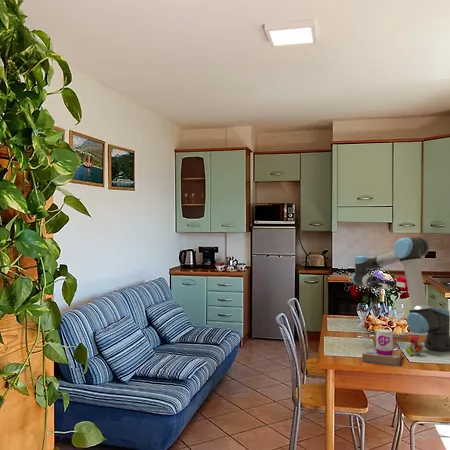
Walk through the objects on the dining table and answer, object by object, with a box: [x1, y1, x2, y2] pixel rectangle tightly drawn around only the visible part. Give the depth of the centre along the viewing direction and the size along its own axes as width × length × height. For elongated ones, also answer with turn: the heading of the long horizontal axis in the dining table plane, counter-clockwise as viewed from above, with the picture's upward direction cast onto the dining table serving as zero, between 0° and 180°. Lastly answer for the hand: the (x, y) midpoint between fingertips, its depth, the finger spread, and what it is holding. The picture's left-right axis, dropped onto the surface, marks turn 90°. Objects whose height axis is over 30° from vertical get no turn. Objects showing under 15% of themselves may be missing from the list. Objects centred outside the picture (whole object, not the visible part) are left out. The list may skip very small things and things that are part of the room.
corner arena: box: [361, 348, 403, 367], centre depth 238 cm, size 18×18×4 cm
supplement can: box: [375, 328, 394, 357], centre depth 236 cm, size 8×8×15 cm
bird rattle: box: [405, 334, 425, 357], centre depth 245 cm, size 6×11×9 cm
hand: (396, 286), depth 264 cm, fingers open, 13 cm apart
